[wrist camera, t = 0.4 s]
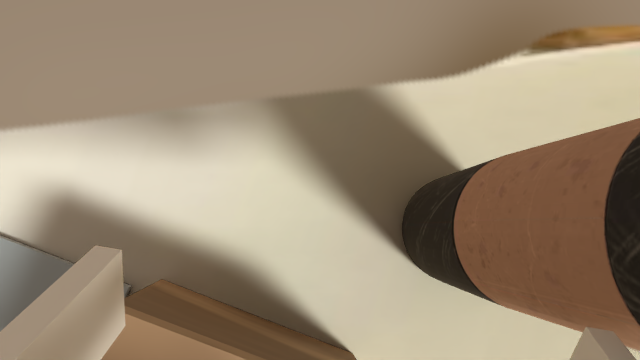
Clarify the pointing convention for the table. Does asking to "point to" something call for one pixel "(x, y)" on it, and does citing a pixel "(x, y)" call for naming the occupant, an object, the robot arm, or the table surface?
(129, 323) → the tan rectangular box
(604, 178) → the travel mug
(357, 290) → the table surface
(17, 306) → the slate mat
